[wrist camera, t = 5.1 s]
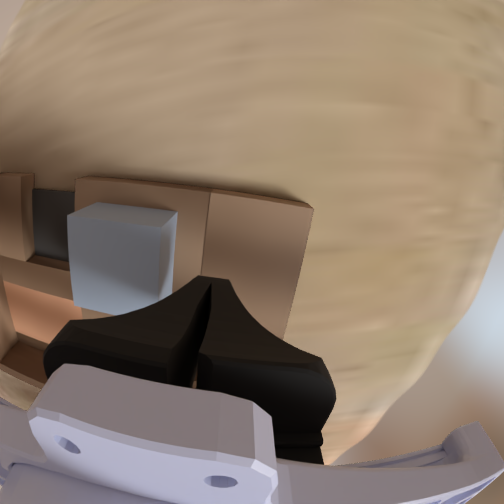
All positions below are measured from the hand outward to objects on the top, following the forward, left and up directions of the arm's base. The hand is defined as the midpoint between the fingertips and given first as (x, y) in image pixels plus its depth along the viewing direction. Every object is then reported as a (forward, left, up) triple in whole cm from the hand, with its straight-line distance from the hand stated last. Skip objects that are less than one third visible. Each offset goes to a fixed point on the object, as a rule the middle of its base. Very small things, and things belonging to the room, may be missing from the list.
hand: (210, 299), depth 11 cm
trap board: (-3, +6, -5) cm, 8 cm away
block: (0, +5, -4) cm, 6 cm away
